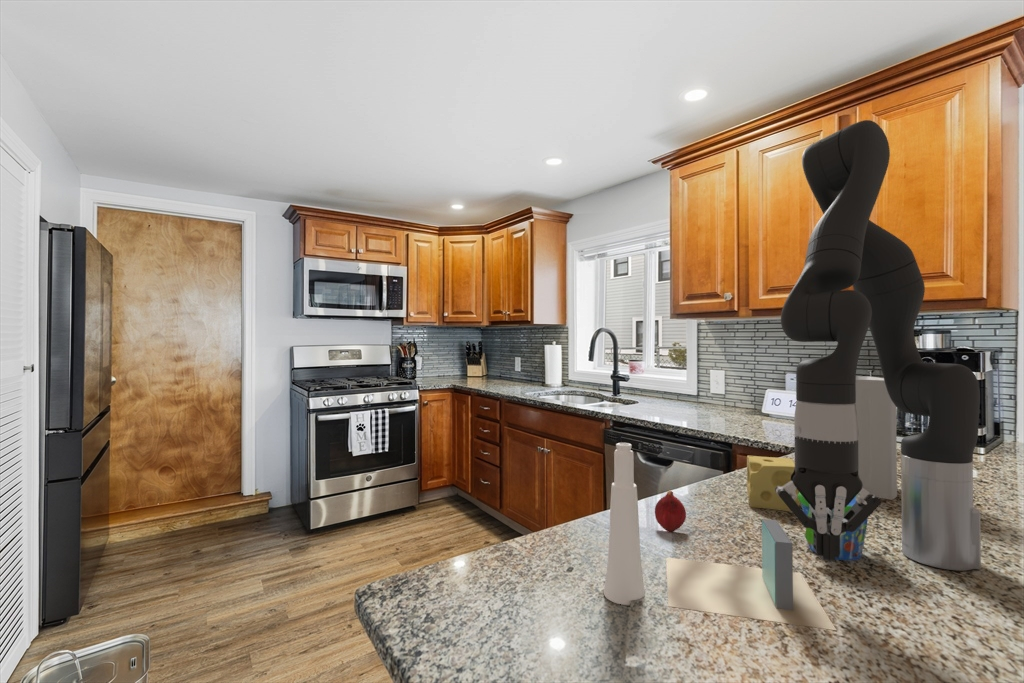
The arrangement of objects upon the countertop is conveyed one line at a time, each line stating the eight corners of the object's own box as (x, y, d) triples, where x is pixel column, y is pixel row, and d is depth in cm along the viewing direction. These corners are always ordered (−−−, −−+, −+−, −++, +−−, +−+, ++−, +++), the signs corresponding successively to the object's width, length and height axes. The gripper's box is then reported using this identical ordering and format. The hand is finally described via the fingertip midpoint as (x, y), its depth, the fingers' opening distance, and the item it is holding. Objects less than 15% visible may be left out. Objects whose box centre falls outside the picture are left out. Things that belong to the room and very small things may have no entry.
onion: (688, 539, 91) (687, 496, 92) (656, 537, 93) (656, 494, 93) (683, 527, 97) (683, 487, 97) (653, 525, 98) (653, 486, 98)
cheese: (749, 508, 109) (748, 463, 109) (745, 494, 119) (745, 453, 119) (802, 514, 105) (802, 467, 105) (794, 499, 115) (794, 457, 115)
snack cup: (828, 536, 93) (828, 482, 93) (893, 557, 83) (892, 498, 83) (777, 553, 85) (776, 494, 85) (841, 578, 76) (841, 512, 76)
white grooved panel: (910, 488, 123) (909, 378, 124) (891, 500, 114) (890, 380, 115) (826, 473, 139) (825, 374, 139) (803, 482, 130) (802, 376, 130)
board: (800, 578, 76) (800, 572, 76) (836, 636, 61) (836, 630, 61) (666, 562, 82) (666, 557, 82) (668, 612, 66) (668, 606, 66)
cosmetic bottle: (611, 581, 75) (610, 438, 75) (650, 591, 72) (649, 442, 72) (597, 599, 70) (596, 445, 70) (639, 610, 67) (638, 449, 67)
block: (777, 579, 74) (776, 520, 74) (793, 610, 65) (792, 543, 65) (761, 577, 74) (761, 518, 74) (775, 608, 66) (775, 541, 66)
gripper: (869, 432, 70) (870, 553, 70) (767, 427, 74) (767, 543, 73) (893, 441, 63) (895, 577, 62) (779, 436, 66) (780, 564, 66)
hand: (826, 558), depth 68 cm, fingers closed
